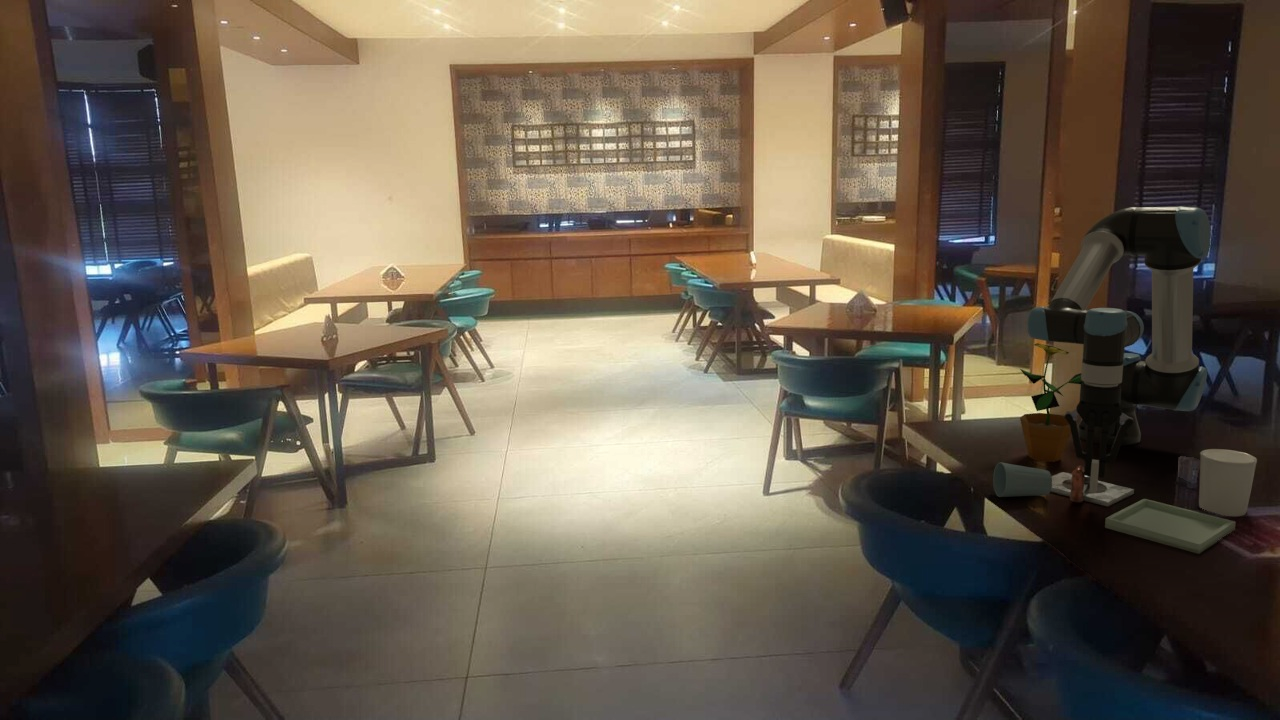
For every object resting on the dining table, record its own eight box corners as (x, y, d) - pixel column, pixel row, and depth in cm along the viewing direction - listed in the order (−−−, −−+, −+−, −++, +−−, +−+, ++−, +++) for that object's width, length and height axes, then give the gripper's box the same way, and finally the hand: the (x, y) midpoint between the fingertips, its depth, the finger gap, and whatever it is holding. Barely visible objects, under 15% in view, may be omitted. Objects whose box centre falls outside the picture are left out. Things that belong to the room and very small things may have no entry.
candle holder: (1252, 522, 174) (1258, 466, 172) (1194, 513, 179) (1200, 459, 177) (1249, 506, 182) (1255, 452, 180) (1194, 499, 187) (1200, 446, 185)
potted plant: (1068, 474, 205) (1077, 351, 199) (992, 457, 219) (999, 341, 213) (1098, 457, 217) (1108, 340, 211) (1025, 442, 230) (1032, 332, 225)
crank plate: (1062, 476, 204) (1062, 471, 203) (1133, 494, 191) (1134, 488, 191) (1035, 488, 196) (1036, 482, 196) (1107, 507, 184) (1108, 501, 184)
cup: (1054, 501, 186) (1005, 497, 186) (1039, 499, 194) (992, 496, 194) (1054, 465, 187) (1006, 462, 187) (1039, 465, 194) (993, 462, 195)
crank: (1074, 480, 197) (1076, 450, 195) (1098, 484, 194) (1101, 453, 193) (1061, 502, 184) (1063, 470, 182) (1087, 506, 181) (1089, 474, 179)
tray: (1143, 508, 183) (1144, 498, 182) (1234, 532, 170) (1235, 521, 169) (1104, 528, 173) (1105, 518, 172) (1198, 555, 160) (1199, 544, 159)
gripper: (1136, 381, 178) (1127, 489, 183) (1067, 377, 184) (1060, 481, 189) (1137, 389, 172) (1128, 500, 177) (1065, 384, 178) (1058, 492, 183)
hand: (1093, 490), depth 183 cm, fingers closed
